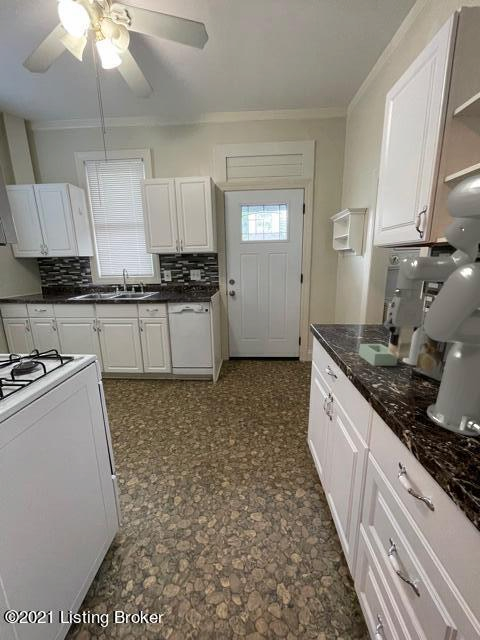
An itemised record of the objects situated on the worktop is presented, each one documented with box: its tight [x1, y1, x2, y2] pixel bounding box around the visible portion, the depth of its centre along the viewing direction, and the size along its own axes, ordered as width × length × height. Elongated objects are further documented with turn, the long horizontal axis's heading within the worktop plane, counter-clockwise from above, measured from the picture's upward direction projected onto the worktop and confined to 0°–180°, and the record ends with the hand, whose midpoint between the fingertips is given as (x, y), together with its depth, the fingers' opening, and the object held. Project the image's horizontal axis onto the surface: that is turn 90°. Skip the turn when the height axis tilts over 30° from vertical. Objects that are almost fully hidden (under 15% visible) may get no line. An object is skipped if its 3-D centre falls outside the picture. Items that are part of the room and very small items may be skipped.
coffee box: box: [415, 330, 455, 382], centre depth 96 cm, size 9×6×16 cm
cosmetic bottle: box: [402, 309, 426, 366], centre depth 106 cm, size 6×6×22 cm
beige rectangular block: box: [387, 325, 414, 359], centre depth 96 cm, size 6×4×12 cm, turn 5°
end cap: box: [358, 343, 399, 367], centre depth 110 cm, size 12×10×5 cm
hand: (399, 343), depth 96 cm, fingers closed on beige rectangular block, 4 cm apart
